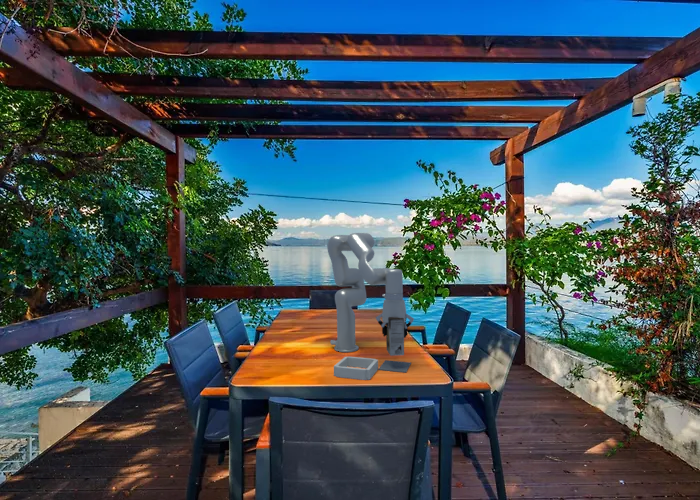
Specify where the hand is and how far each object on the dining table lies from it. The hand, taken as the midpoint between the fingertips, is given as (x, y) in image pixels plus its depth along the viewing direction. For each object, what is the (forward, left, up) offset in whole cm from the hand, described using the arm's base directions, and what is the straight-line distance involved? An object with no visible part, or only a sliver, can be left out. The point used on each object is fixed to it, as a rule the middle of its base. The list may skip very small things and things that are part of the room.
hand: (394, 336), depth 155 cm
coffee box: (0, 0, -7) cm, 7 cm away
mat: (0, 0, -13) cm, 13 cm away
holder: (-14, -12, -13) cm, 23 cm away
